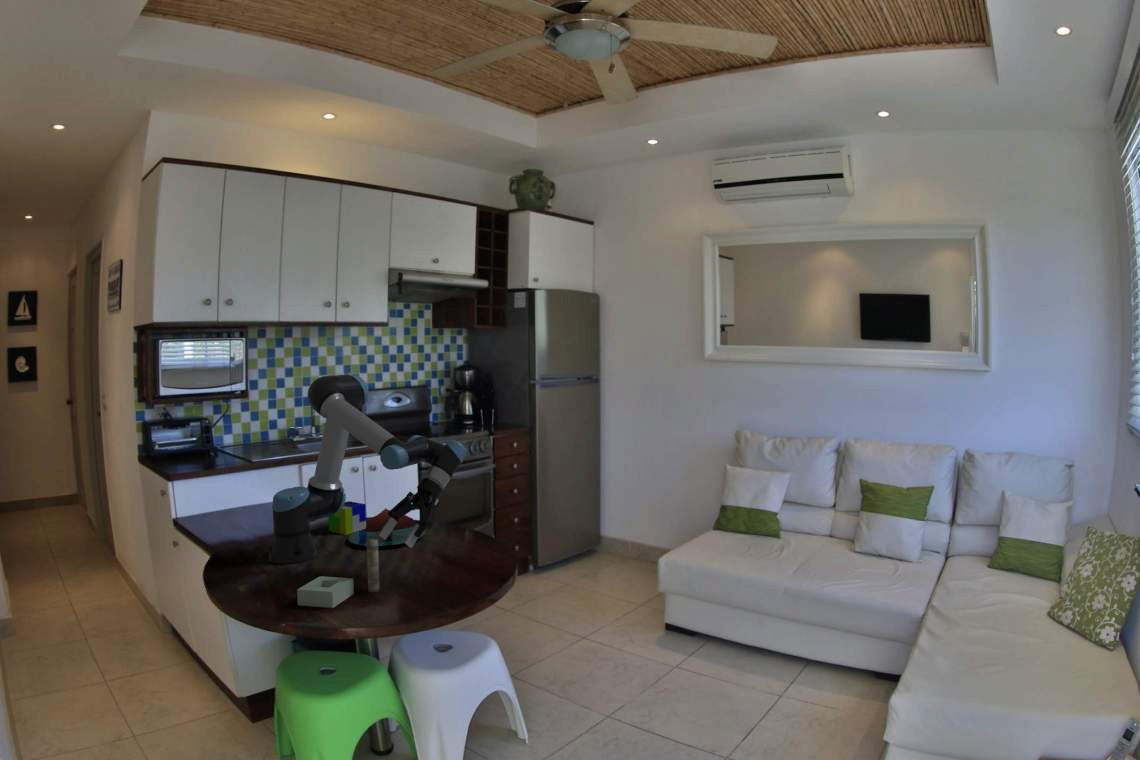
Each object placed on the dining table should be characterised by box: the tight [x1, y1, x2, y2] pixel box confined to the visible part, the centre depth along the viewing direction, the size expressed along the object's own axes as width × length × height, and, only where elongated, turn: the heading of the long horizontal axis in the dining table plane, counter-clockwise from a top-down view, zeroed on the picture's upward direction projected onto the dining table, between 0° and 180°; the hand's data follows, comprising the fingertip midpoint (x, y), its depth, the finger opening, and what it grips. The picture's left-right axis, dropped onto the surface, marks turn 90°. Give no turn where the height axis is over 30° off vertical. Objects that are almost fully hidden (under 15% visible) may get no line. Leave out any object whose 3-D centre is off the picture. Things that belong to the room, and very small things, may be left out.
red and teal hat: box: [348, 508, 426, 547], centre depth 254 cm, size 28×28×11 cm
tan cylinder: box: [366, 539, 380, 593], centre depth 201 cm, size 3×3×15 cm
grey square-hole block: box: [296, 575, 355, 609], centre depth 194 cm, size 11×11×4 cm
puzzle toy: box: [328, 500, 367, 536], centre depth 268 cm, size 10×10×10 cm
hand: (394, 541), depth 205 cm, fingers open, 13 cm apart
